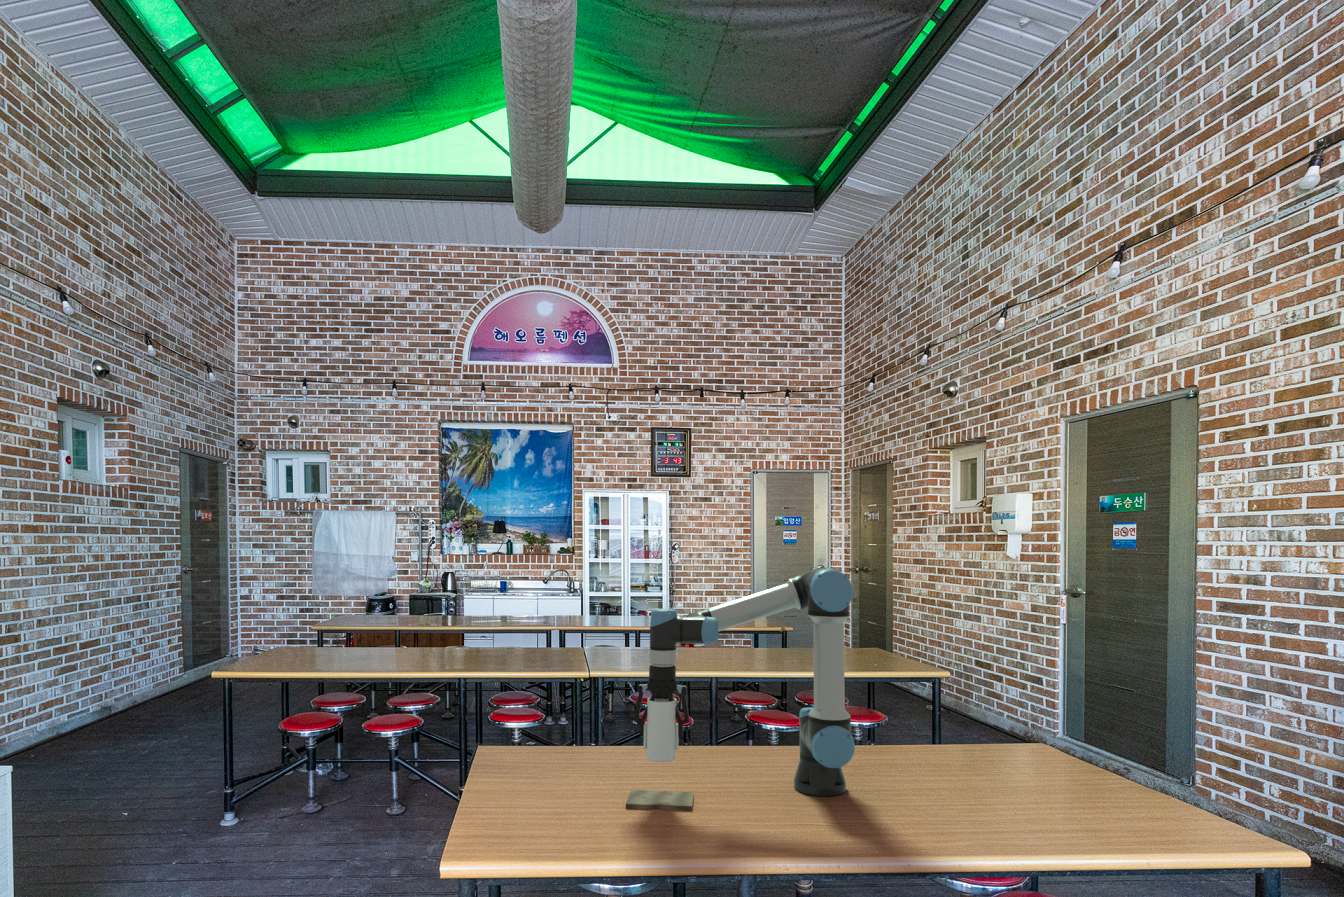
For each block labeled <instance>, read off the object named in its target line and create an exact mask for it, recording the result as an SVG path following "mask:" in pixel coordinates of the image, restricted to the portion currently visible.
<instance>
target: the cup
mask: <svg viewBox="0 0 1344 897" xmlns="http://www.w3.org/2000/svg"><path fill="white" fill-rule="evenodd" d="M650 698H651V696H650V697H648V698H647V700H646V701H647V704H646V706H647V705H648V710H647V717H646V722H647V741H646V749H645V753H646V754H645V758H646V760H647V761H650V762H654V763H670V762H673V761H675V760H676V757H677V756H676V754H677V753H676V751H677V750H675V735H676V723H677V719H676V717H675V706H676V705H677V698H675V697H674V701H670V702H669V700H668V699H662V698H661V699H656V698H655V700H654V701H650Z"/></svg>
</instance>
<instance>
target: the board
mask: <svg viewBox="0 0 1344 897" xmlns="http://www.w3.org/2000/svg"><path fill="white" fill-rule="evenodd" d="M694 794H695V792H694V791H677V790H676V791H671V790H668V791H667V790H646V789H645V790H643V789H642V790H641V789H630V791H629V794H628V797H627V799H626V802H625V809H627V810H631V809H633V810H654V811H655V810H657V811H660V810H661V811H687V812H693V808H694V796H695V795H694Z"/></svg>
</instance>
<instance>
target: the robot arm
mask: <svg viewBox="0 0 1344 897" xmlns="http://www.w3.org/2000/svg"><path fill="white" fill-rule="evenodd" d="M853 592H854V589H853V585H852V583H851V581H850V579H849V577H848V576H847V575H846V574H844V573H843V572H842V571H840V570H839V569H835V568H831V567H828V568H826V567H816V568H813V569H811V570H809V571H807V572H804V573H801V574H800V575H797V576H794V577H791V578H788V580H787V582H786V583H783V584H780V585H777V586H774V587H772V588H769V589H765V590H762V591H759V592H755V593H752V594H749V595H745V596H743V597H739V598H736V599H733V600H730V601H726V602H725V603H721V604H718V605H715V606H711V607H709V608H705V609H702V610H699V611H693V612H690V613H688V614H686V616H679V615H678V614H677V610H676V609H673V608H656V609H653V610H652V611H651V612H650V620H649V621H650V622H649V656H648V657H649V664H650V665H649V667H648V669H649V670H648V672H649V673H648V682H647V683H646V684H645V683H644V684H642V683H639V684H638V686H637V692H638V696H637V701H636V706H635V709H634V710H635V711H634V715H633V721H634V722H637V723H638V724H639V735H640V736H643V743H642V744H643V745H642V746H643V747H642V748H643V749H645V750H646V741H647V710H648V705H647V704H646V707H645V709H644V710H643V711H644V712H643V714H642V716H640V713H641V710H642V709H641V708H642V703H643V699H644V693H646V691H647V689H648V691H649V692H650V694H651V696H650V697H651V698H650V697H649V698H650V701H654V700H655V698H656V699H661V698H662V699H668V700H669V702H670V701H674V698H675V697H674V695H673V694H674V692H676V690H677V692H678V693H679V694H680V699H681V708H682V712H683V718H682V715H681V713H680V710H679V708H678V705H677V704H676V706H675V717H676V735H675V750H676V751H679V743H680V742H679V740H680V739H679V738H682V737H683V734H684V733H683V730H684V728H683V726H684V725H685V724H689V723H690V715H689V707H688V703H687V702H688V701H687V695H686V692H687V685H685V684H684V685H680V684H677V680H676V679H677V678H676V672H677V671H676V670H677V667H676V665H675V664H677V644H690V645H692V644H693V645H694V644H695V645H697V644H698V645H714V644H717V643H718V640H719V632H721V631H725V630H727V629H731V628H735V627H738V626H740V625H744V624H746V623H751V622H754V621H757V620H760V619H763V618H765V617H771V616H772V615H775V614H778V613H782V612H784V611H788V610H792V609H797V610H799V611H800V610H802V609H806V608H807V616H808V617H809V619H811V620H812V622H813V623H812V624H813V631H812V633H813V634H812V635H813V642H812V643H813V707H812V706H811V707H810V706H809V707H803V708H801V709H800V710H799V716H798V721H799V722H798V724H799V761H798V764H797V768H796V771H795V774H794V777H793V788H794V789H795V790H797V791H798V792H800V793H803V794H805V795H811V796H815V797H835V796H840V795H843V794H845V792H847V791H846V790H847V781H846V778H845V776H844V775H845V774H844V772H843V770H842V769H843V768H842V767H844V766H846V765H847V764H849V762H850V761H851V760H852V758H854V754H855V750H856V744H855V743H856V742H855V739H854V736H853V735H852V734H851V733H852V732H851V731H852V728H851V726H852V725H851V715H850V713H849V712H848V711H847V709H846V704H845V703H846V702H845V701H846V700H845V697H846V696H845V691H846V690H845V626H844V625H845V622H846V621H847V620H848V619H849V617H850V603H851V601H852V598H853V594H854V593H853Z"/></svg>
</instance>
